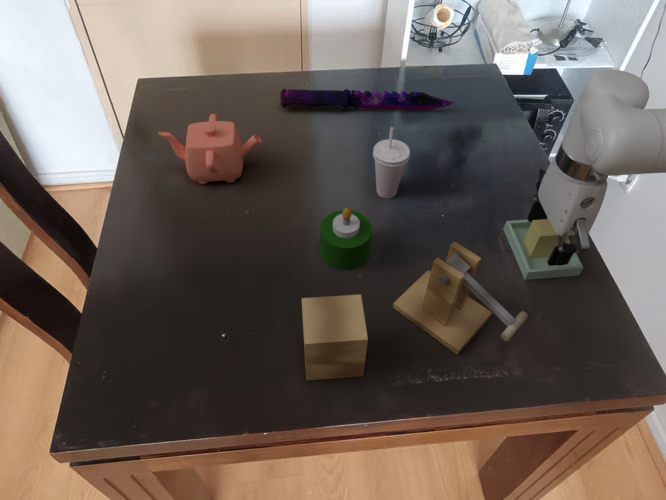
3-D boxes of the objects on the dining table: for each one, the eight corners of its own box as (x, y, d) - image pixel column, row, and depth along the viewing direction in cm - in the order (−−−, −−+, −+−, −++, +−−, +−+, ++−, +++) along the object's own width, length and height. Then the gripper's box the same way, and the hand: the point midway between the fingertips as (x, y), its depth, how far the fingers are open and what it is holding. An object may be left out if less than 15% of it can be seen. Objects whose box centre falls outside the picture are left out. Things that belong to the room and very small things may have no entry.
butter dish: (579, 275, 87) (583, 267, 86) (524, 280, 87) (528, 272, 85) (553, 225, 95) (557, 217, 93) (503, 229, 94) (506, 220, 92)
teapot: (228, 139, 108) (221, 96, 101) (267, 168, 103) (262, 125, 95) (168, 172, 102) (155, 129, 94) (206, 205, 96) (195, 161, 89)
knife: (281, 113, 114) (279, 93, 111) (282, 103, 117) (281, 83, 113) (454, 117, 114) (458, 97, 111) (452, 107, 117) (456, 87, 113)
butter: (551, 240, 91) (562, 218, 87) (558, 256, 89) (570, 234, 85) (522, 242, 91) (532, 219, 87) (529, 258, 89) (539, 236, 85)
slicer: (490, 316, 82) (513, 264, 72) (457, 355, 78) (476, 305, 68) (427, 274, 87) (440, 219, 77) (392, 307, 83) (401, 254, 73)
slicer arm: (522, 320, 74) (532, 314, 72) (503, 343, 72) (512, 338, 70) (453, 254, 76) (461, 246, 74) (433, 274, 74) (440, 267, 72)
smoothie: (387, 174, 102) (394, 113, 92) (411, 193, 99) (421, 131, 89) (362, 189, 100) (367, 127, 89) (385, 208, 97) (393, 147, 86)
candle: (311, 256, 89) (309, 215, 81) (336, 225, 94) (337, 183, 86) (354, 277, 86) (357, 236, 79) (378, 244, 91) (383, 202, 83)
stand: (357, 333, 80) (361, 294, 72) (363, 376, 75) (367, 339, 68) (303, 337, 79) (301, 298, 72) (306, 380, 75) (304, 344, 67)
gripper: (639, 200, 70) (589, 281, 83) (585, 121, 81) (549, 203, 94) (583, 203, 69) (542, 284, 82) (537, 123, 80) (507, 205, 93)
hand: (546, 241), depth 88 cm, fingers open, 9 cm apart
